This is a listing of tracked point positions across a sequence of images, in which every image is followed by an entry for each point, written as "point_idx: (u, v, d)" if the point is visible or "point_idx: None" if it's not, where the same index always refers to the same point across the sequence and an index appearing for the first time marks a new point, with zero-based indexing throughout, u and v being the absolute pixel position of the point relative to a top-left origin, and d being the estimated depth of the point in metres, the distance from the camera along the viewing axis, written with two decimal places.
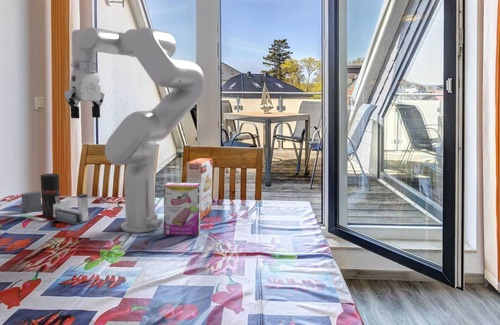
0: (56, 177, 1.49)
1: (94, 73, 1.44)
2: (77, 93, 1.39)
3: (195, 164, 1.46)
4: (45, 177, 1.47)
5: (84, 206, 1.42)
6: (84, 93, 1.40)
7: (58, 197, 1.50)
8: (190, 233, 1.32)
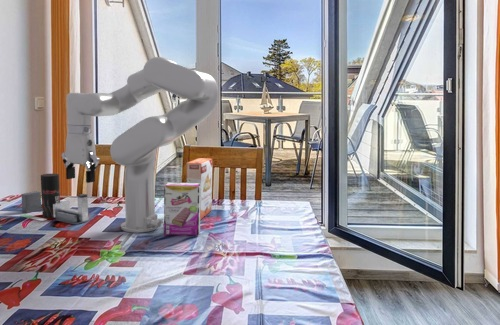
0: (56, 177, 1.49)
1: None
2: None
3: (195, 164, 1.46)
4: (45, 177, 1.47)
5: (84, 206, 1.42)
6: None
7: (58, 197, 1.50)
8: (190, 233, 1.32)
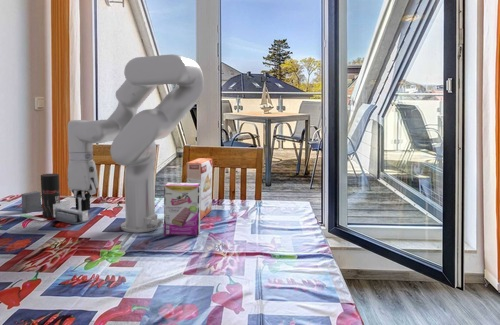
0: (56, 177, 1.49)
1: None
2: None
3: (195, 164, 1.46)
4: (45, 177, 1.47)
5: None
6: None
7: (58, 197, 1.50)
8: (190, 233, 1.32)
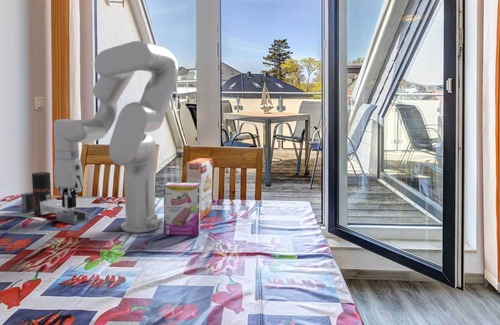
0: (47, 176, 1.51)
1: None
2: None
3: (195, 164, 1.46)
4: (36, 176, 1.49)
5: None
6: None
7: (49, 195, 1.52)
8: (190, 233, 1.32)
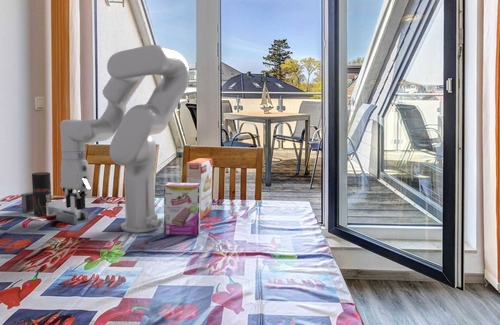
0: (47, 176, 1.51)
1: None
2: None
3: (195, 164, 1.46)
4: (36, 176, 1.49)
5: None
6: None
7: (49, 195, 1.52)
8: (190, 233, 1.32)
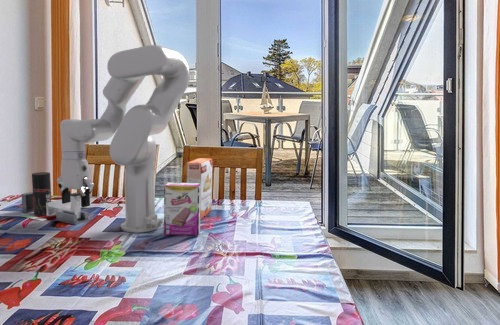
0: (47, 176, 1.51)
1: None
2: None
3: (195, 164, 1.46)
4: (36, 176, 1.49)
5: (77, 205, 1.44)
6: None
7: (49, 195, 1.52)
8: (190, 233, 1.32)
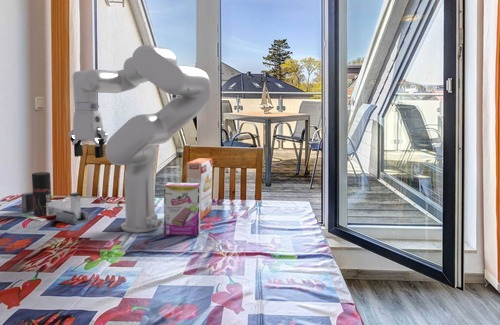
0: (47, 176, 1.51)
1: None
2: None
3: (195, 164, 1.46)
4: (36, 176, 1.49)
5: (77, 205, 1.44)
6: None
7: (49, 195, 1.52)
8: (190, 233, 1.32)
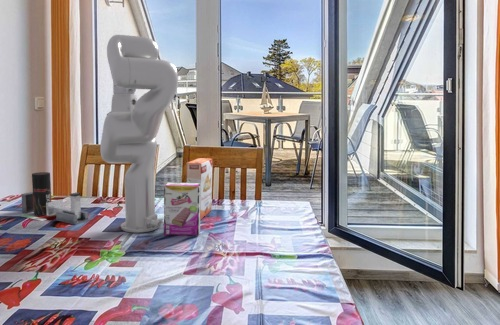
0: (47, 176, 1.51)
1: None
2: None
3: (195, 164, 1.46)
4: (36, 176, 1.49)
5: (77, 205, 1.44)
6: None
7: (49, 195, 1.52)
8: (190, 233, 1.32)
